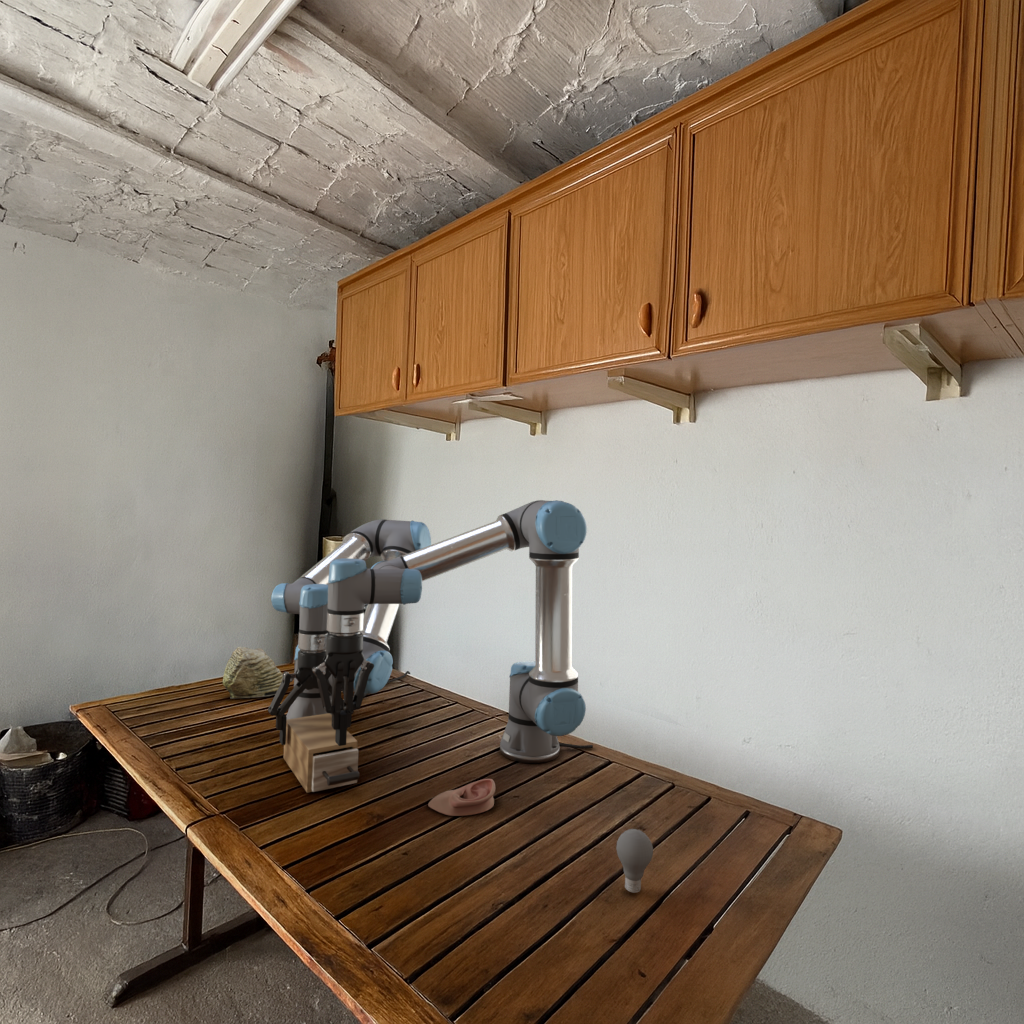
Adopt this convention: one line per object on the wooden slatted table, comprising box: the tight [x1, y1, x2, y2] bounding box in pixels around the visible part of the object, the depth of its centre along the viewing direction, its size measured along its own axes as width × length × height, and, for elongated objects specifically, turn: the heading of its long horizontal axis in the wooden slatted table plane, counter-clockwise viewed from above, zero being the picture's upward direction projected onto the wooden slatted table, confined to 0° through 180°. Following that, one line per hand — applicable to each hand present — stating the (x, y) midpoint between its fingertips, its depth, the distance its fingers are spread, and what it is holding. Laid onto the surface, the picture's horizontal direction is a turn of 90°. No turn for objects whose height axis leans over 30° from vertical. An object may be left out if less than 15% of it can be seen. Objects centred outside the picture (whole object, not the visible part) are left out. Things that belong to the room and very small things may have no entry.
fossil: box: [222, 646, 283, 699], centre depth 198 cm, size 9×18×15 cm, turn 132°
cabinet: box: [282, 713, 358, 793], centre depth 147 cm, size 20×11×9 cm, turn 33°
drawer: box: [312, 747, 360, 793], centre depth 142 cm, size 24×10×7 cm, turn 33°
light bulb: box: [615, 828, 654, 894], centre depth 106 cm, size 6×6×10 cm
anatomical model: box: [427, 778, 496, 817], centre depth 133 cm, size 13×4×12 cm
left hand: (310, 738), depth 152 cm, fingers open, 12 cm apart
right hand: (340, 743), depth 134 cm, fingers closed
